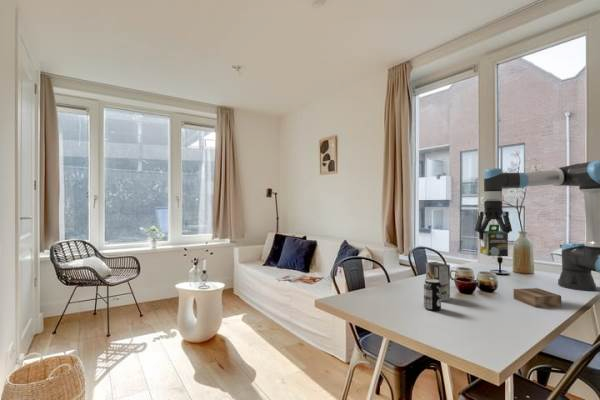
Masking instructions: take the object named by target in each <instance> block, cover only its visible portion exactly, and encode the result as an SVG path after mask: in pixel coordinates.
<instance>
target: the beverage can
mask: <svg viewBox="0 0 600 400" xmlns="http://www.w3.org/2000/svg"><path fill="white" fill-rule="evenodd" d="M423 307H424V308H425V310H427V311H430V312H431V311H432V312H439V311H440V310H441V309H442V301H441V284H440V281H439V280H437V279H426V278H425V279H424V282H423Z"/></svg>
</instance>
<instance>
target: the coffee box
mask: <svg viewBox="0 0 600 400" xmlns="http://www.w3.org/2000/svg"><path fill="white" fill-rule="evenodd" d="M450 269H451V267H450V264H445V263H441V262H438V261H431V262H430V261H429V262H425V271H426V272H425V277H426V278H425V279H437V280H439V281H440V284H441V302H447V301H451V279H450V278H451V277H450V275H451V273H450V272H451V270H450Z"/></svg>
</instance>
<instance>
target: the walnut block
mask: <svg viewBox="0 0 600 400" xmlns="http://www.w3.org/2000/svg"><path fill="white" fill-rule="evenodd" d="M513 300H514V301H517V302H520V303H522V304H524V305H525V304H526V305H528V306H530V307H533V308H560V307H561V308H562V295H560V294H557V293H555V292H551V291H547V290H544V289H541V288H537V287H534V288H532V287H531V288H513Z"/></svg>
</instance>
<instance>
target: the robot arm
mask: <svg viewBox="0 0 600 400" xmlns="http://www.w3.org/2000/svg"><path fill="white" fill-rule="evenodd" d="M483 172H484V173H483V190H484V191H483V193H484V195H483V197H484V198H483V199H484V201H483V202H484V203H483V204H484V205H483V208H484V210H483V211H478V212H477V221H476V224H475V229H474V231H475V232H477V233H478V239H479V240H480V239H481V246H483V247H486V237H485V233H484V231H486V229H487V227H488V225H489V223H490V222H491V220H496V222H497V223H498V224H497V225H499V228H500V229H501V231H503V232H508V234H510V232H513V228H512V224H511V220H510V216H509V215H510V213H509V211H503V201H502V200H503V190H504V189H523V188H525V187H538V186H549V185H550V186H551V185H552V186H554V187H559V186H560V187H562V186H565V187H567V186H568V187H569V186H570V187H578V188H579V189H578V190H579V191H580V192H582V193H583V199H584V212H585V224H586V225H585V226H586V235H587V236H586V237H587V242H585V243H563V244H562V245H561V246H562V247H561V273H560V276H559V278H558V279H557V285H558V286H560V287H564V288H566V289H571V290H579V291H596V290H597V284H596V282H595V279H594V278H593V274H592V271H593V272H595V273H599V274H600V160H594V161H593V160H592V161H587V162H581V163H574V164H570V165H566V166H561V167H554V168H551V170H550V169H549V170H540V171H539V170H538V171H528V172H519V171H518V172H503V170H502V168H497V167H496V168H493V167H492V168H486V169H485V170H484V171H483Z"/></svg>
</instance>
